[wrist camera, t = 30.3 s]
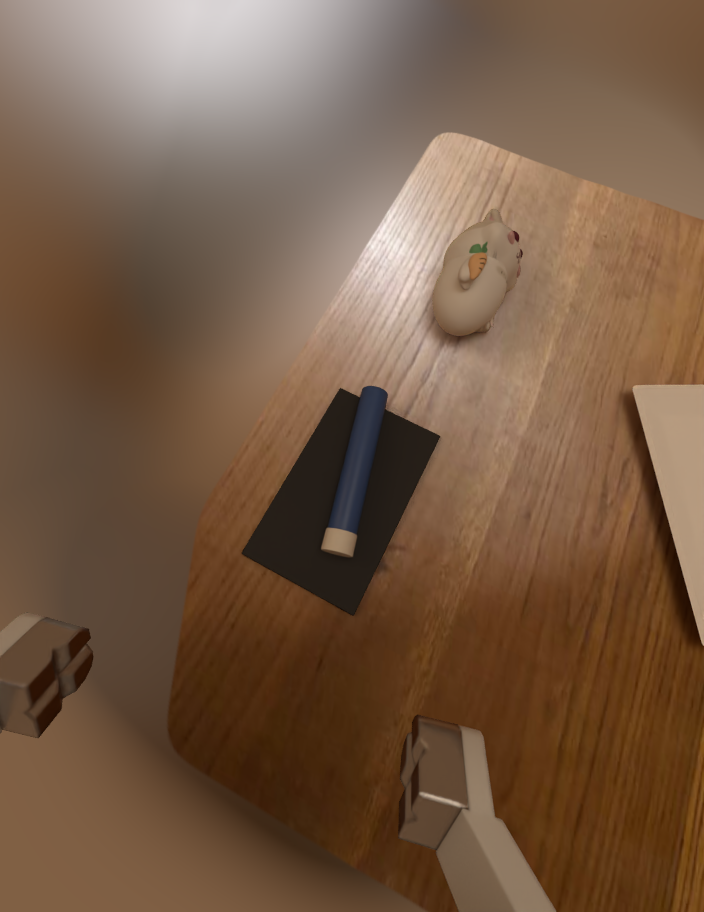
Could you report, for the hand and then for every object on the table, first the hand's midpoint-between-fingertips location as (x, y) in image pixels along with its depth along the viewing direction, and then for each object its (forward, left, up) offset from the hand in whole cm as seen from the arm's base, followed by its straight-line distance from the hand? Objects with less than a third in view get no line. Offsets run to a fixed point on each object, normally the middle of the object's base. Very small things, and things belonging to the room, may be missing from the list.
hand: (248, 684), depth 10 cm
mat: (+8, +9, -29) cm, 32 cm away
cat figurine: (+32, +24, -30) cm, 50 cm away
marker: (+15, +17, -27) cm, 36 cm away
